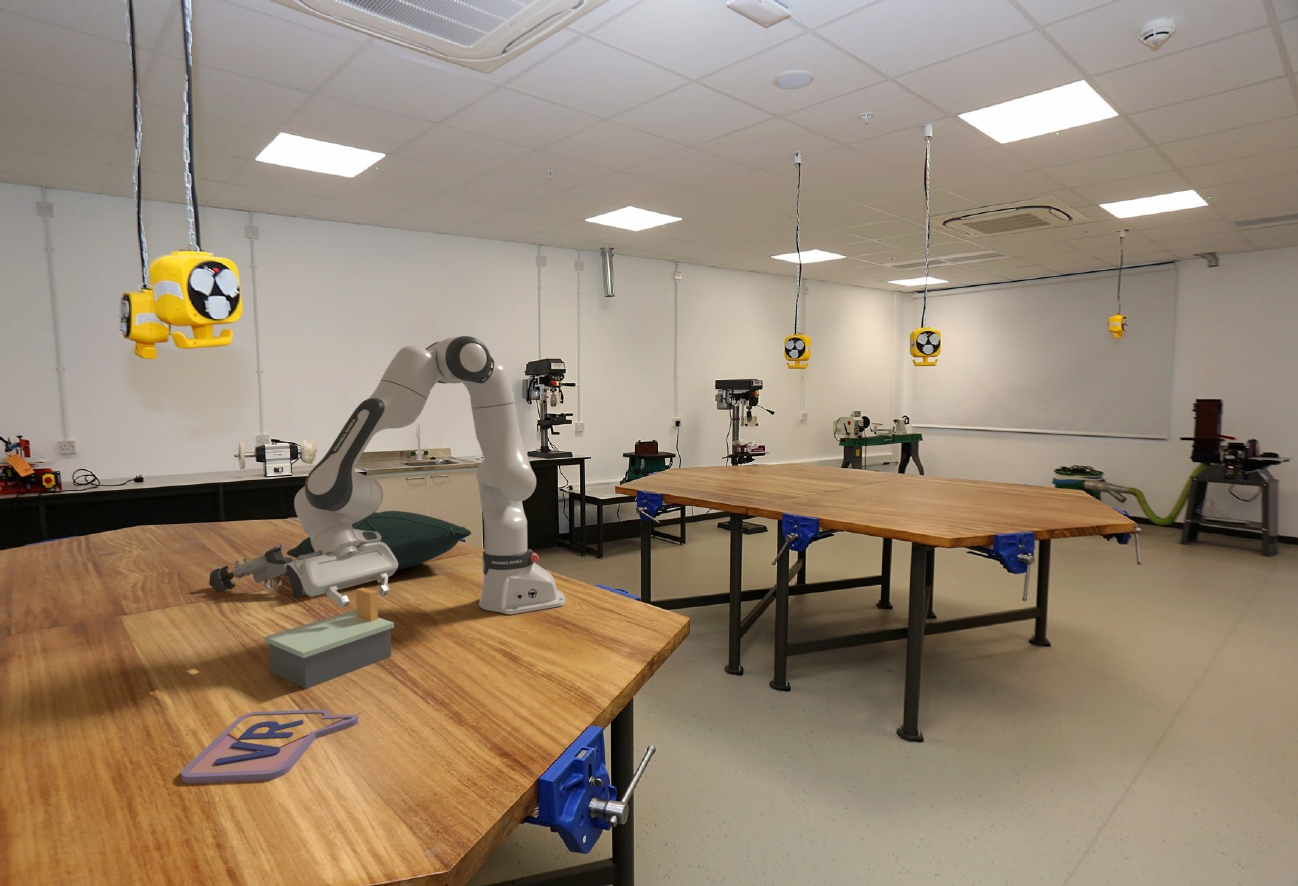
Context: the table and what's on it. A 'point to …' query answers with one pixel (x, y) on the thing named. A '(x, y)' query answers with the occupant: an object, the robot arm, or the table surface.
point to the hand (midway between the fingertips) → (366, 599)
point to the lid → (334, 628)
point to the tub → (330, 660)
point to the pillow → (405, 536)
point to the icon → (242, 760)
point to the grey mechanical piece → (260, 572)
